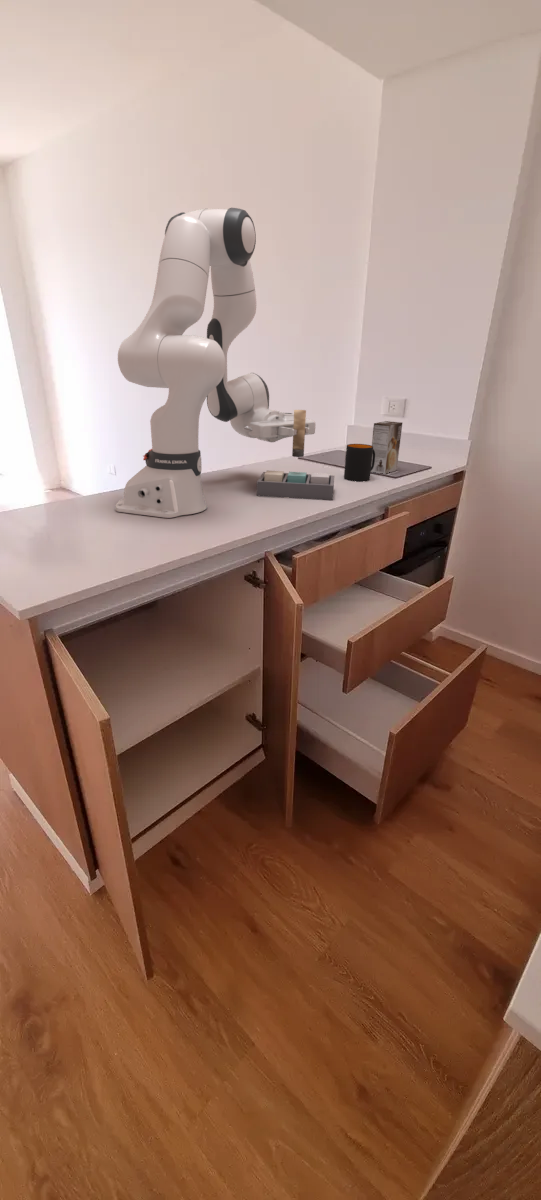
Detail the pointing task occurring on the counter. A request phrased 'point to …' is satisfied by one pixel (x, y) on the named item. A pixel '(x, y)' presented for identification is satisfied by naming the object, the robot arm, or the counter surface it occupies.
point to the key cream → (274, 476)
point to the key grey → (319, 478)
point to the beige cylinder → (299, 433)
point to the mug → (359, 462)
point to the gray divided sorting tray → (295, 488)
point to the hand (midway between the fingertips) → (301, 432)
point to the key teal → (297, 477)
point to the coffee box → (386, 446)
